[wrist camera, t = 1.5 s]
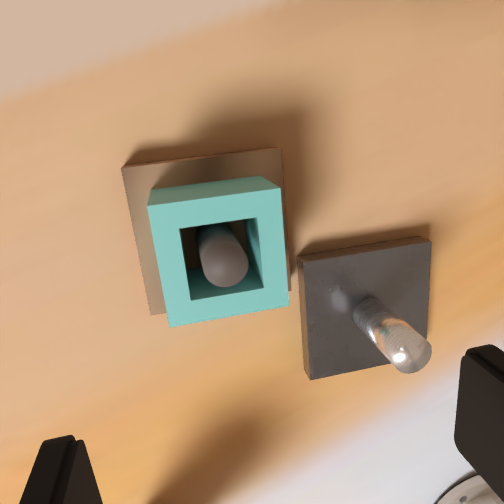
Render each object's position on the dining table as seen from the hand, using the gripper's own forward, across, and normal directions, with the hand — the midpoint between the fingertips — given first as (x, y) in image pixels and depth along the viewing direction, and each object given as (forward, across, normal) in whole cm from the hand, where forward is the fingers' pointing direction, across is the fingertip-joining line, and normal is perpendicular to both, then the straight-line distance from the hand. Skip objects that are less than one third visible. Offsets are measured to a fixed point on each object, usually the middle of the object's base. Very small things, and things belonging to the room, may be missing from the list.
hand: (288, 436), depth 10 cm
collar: (+18, 0, 0) cm, 18 cm away
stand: (+20, 0, 0) cm, 20 cm away
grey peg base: (+20, -11, +8) cm, 24 cm away
